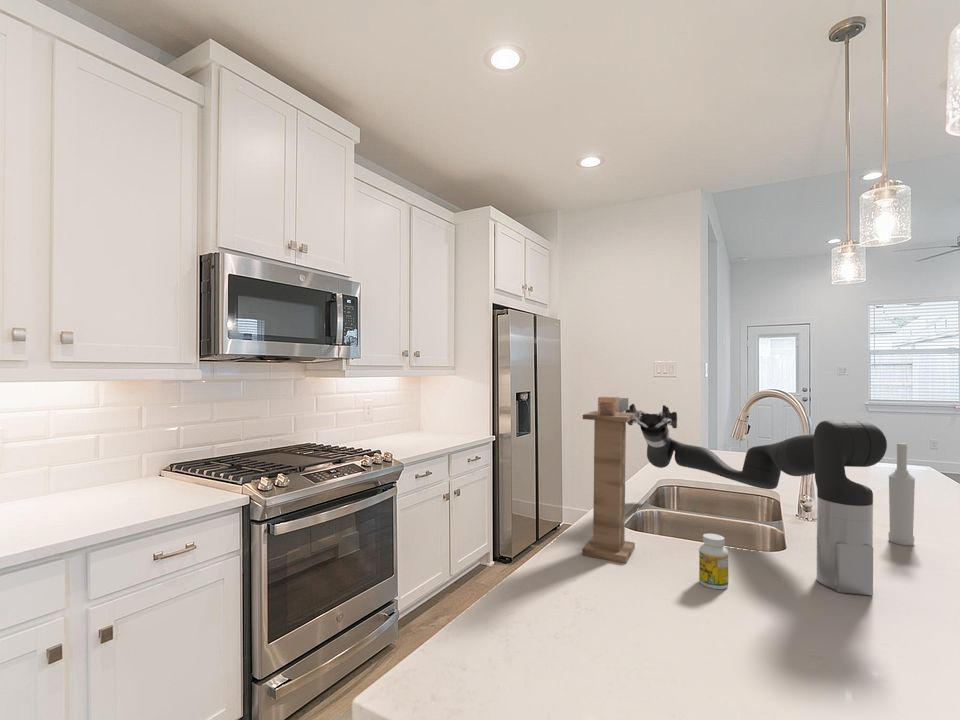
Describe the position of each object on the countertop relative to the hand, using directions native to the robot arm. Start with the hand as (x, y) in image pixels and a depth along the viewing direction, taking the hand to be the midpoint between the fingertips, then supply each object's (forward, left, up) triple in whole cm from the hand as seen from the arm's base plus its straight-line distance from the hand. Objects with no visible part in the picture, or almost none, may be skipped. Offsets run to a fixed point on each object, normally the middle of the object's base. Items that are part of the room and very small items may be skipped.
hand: (647, 407), depth 143 cm
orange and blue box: (-21, +10, 0) cm, 23 cm away
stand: (-26, +11, -32) cm, 43 cm away
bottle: (-1, -62, -32) cm, 70 cm away
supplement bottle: (-39, -9, -32) cm, 51 cm away
